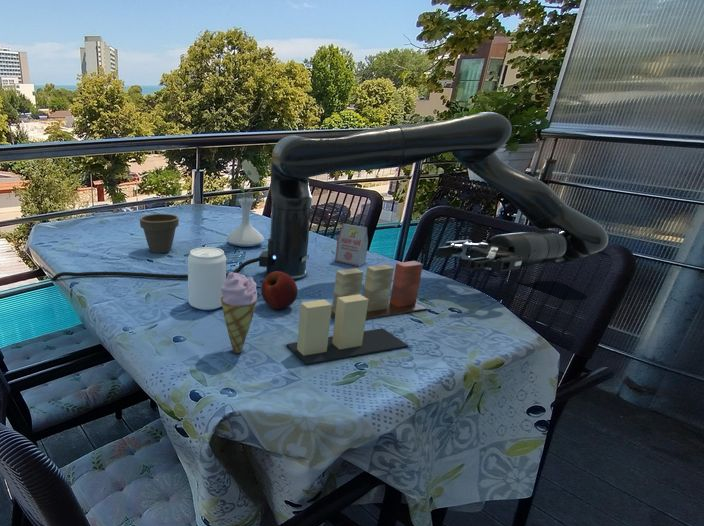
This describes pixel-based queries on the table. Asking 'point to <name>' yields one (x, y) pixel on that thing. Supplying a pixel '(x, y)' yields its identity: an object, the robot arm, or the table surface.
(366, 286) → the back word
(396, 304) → the orange rectangular block
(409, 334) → the table surface
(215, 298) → the beverage can
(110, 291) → the table surface
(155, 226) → the flower pot
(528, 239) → the robot arm
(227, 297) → the ice cream cone
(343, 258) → the white tea box
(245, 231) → the flower in vase
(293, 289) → the apple
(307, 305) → the front word
